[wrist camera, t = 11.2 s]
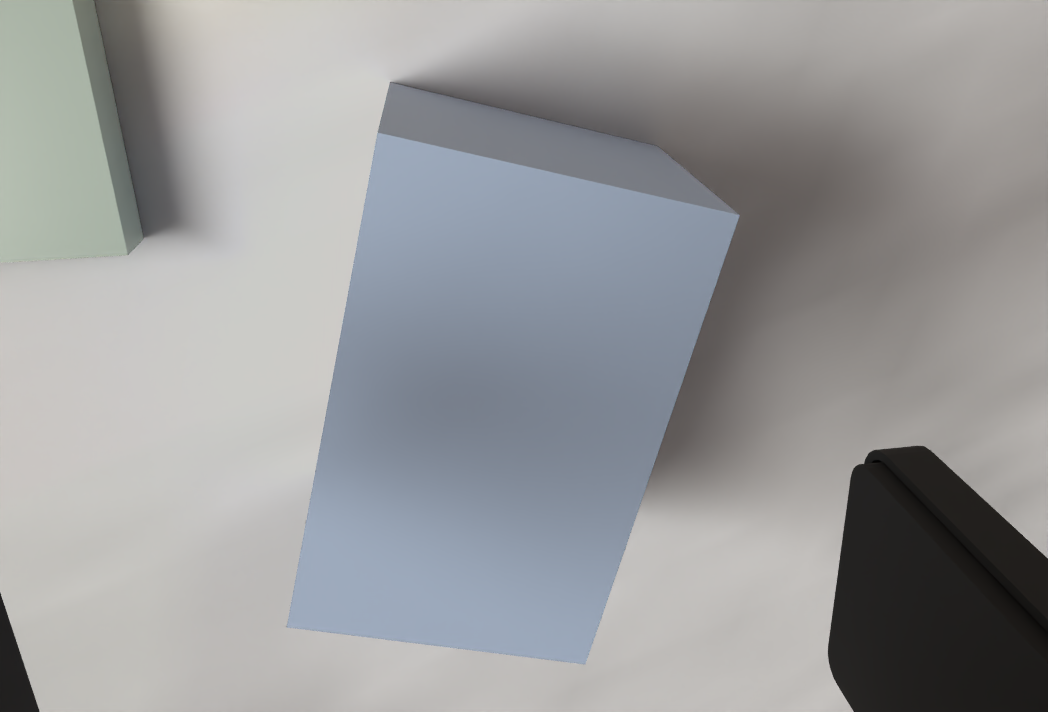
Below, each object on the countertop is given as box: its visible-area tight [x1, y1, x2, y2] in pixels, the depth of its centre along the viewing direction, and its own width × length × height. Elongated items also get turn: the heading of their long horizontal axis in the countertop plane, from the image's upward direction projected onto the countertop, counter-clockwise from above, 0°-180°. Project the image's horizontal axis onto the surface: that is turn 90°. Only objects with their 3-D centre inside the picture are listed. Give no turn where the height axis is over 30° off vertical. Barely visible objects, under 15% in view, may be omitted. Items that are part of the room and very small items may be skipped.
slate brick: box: [287, 82, 740, 664], centre depth 16 cm, size 5×8×5 cm, turn 166°
